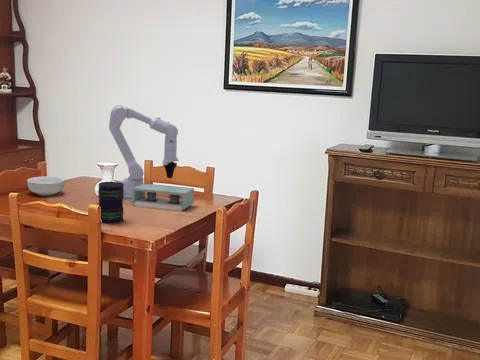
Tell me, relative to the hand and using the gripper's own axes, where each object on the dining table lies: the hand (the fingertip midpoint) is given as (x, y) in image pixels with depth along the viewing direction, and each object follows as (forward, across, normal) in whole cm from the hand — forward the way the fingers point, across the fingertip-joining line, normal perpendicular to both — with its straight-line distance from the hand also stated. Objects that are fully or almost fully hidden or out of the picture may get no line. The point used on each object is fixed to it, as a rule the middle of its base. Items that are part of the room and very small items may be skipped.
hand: (169, 177), depth 272 cm
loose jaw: (+9, -18, +2) cm, 20 cm away
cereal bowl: (+10, -20, +54) cm, 58 cm away
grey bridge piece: (+8, -18, -4) cm, 20 cm away
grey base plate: (+9, -18, -4) cm, 21 cm away
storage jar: (+10, -51, +5) cm, 52 cm away
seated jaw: (+9, -18, -10) cm, 22 cm away
